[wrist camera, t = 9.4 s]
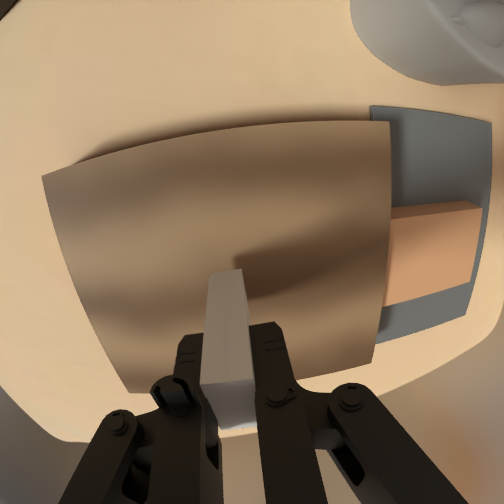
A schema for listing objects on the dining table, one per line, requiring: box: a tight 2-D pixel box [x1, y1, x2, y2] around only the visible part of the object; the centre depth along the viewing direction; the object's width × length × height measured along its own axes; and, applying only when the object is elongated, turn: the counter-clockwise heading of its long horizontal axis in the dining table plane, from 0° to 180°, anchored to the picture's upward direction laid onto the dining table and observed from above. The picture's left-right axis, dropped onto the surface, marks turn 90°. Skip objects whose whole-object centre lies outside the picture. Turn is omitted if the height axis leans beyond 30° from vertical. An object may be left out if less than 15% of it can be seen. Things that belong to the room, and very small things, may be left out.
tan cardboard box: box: [382, 200, 482, 307], centre depth 17 cm, size 6×9×2 cm, turn 97°
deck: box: [42, 121, 391, 393], centre depth 16 cm, size 16×18×3 cm
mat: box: [369, 106, 492, 344], centre depth 18 cm, size 18×12×1 cm, turn 7°
